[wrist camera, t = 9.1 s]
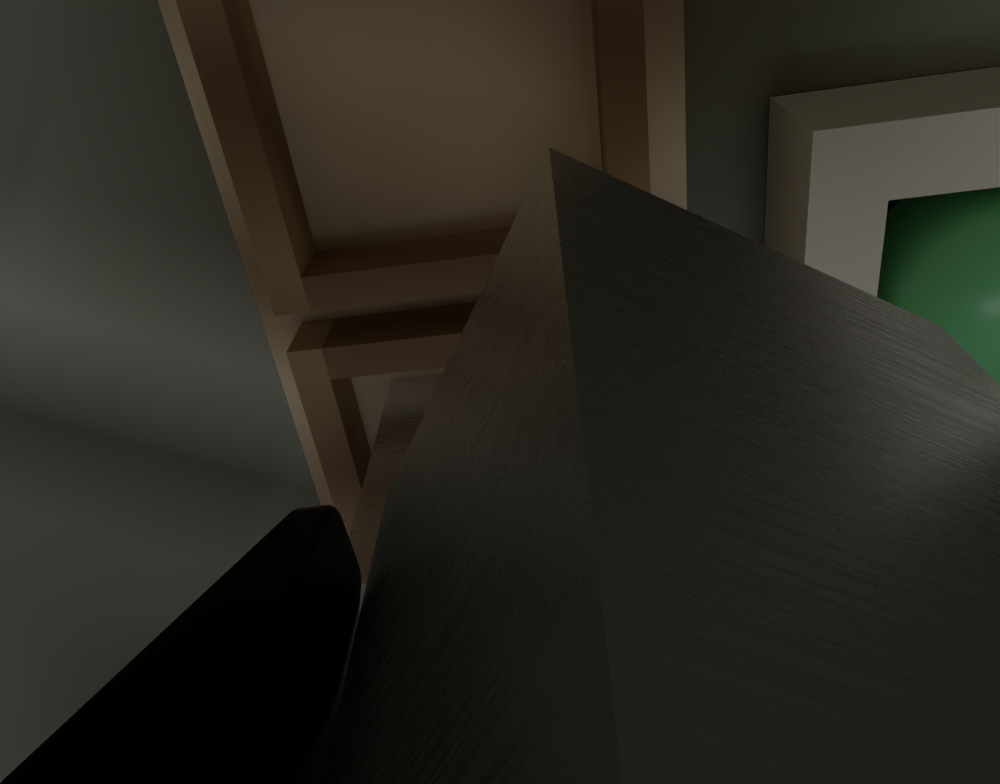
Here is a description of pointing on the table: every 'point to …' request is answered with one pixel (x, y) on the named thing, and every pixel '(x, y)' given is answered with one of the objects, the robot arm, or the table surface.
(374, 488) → the block
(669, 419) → the block
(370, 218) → the pallet board
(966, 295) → the button
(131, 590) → the table surface
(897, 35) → the table surface
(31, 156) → the table surface
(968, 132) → the button console
